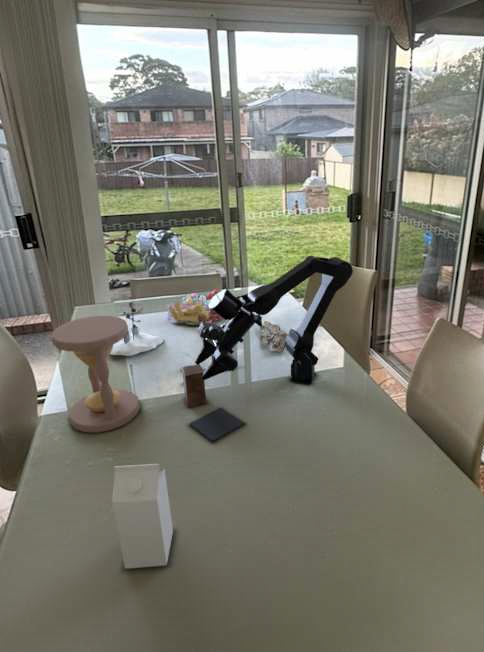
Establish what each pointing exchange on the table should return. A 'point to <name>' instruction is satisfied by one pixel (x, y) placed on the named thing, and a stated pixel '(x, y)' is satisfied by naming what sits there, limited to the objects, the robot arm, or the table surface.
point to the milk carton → (142, 515)
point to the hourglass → (97, 372)
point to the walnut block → (194, 385)
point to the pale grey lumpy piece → (278, 340)
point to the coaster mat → (216, 424)
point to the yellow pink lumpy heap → (193, 310)
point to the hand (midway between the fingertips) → (199, 371)
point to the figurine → (135, 339)
